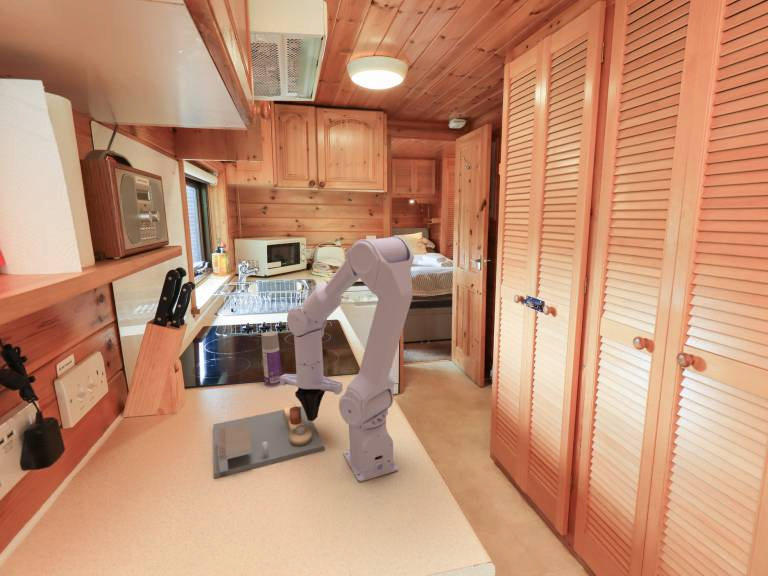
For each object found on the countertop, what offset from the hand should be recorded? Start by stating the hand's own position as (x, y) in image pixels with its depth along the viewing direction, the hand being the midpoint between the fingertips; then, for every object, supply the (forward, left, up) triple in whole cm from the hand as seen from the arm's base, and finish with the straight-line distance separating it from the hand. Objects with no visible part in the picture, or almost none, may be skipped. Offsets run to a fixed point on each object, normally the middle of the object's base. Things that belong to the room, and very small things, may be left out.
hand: (312, 418), depth 87 cm
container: (+30, +4, -4) cm, 31 cm away
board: (+2, +10, -3) cm, 11 cm away
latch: (+2, +3, -2) cm, 4 cm away
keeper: (-4, +16, -3) cm, 17 cm away
